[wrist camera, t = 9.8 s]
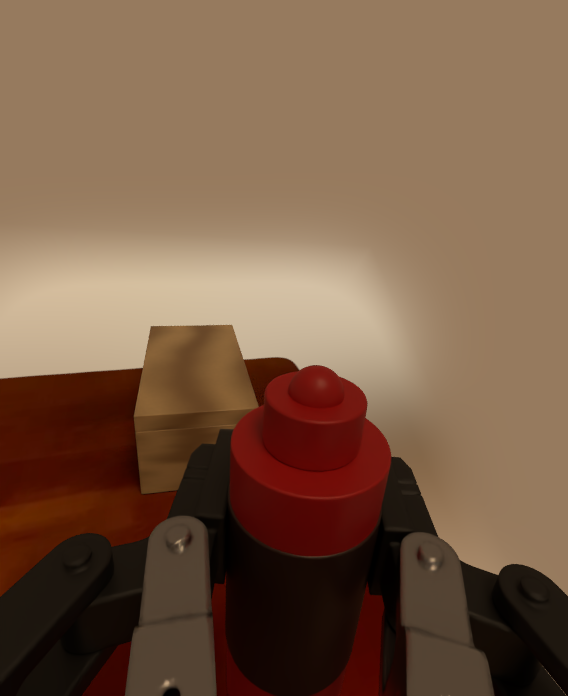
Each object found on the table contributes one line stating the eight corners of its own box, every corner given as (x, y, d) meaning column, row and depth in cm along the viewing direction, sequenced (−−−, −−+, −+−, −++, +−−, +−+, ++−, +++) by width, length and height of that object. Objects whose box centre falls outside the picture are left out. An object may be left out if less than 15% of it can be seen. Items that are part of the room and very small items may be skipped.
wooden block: (231, 379, 54) (232, 324, 51) (255, 481, 37) (259, 407, 33) (154, 383, 52) (150, 326, 49) (141, 494, 34) (133, 416, 31)
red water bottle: (267, 594, 15) (288, 324, 11) (360, 655, 13) (429, 363, 9) (198, 693, 12) (189, 374, 8) (307, 787, 10) (373, 445, 6)
